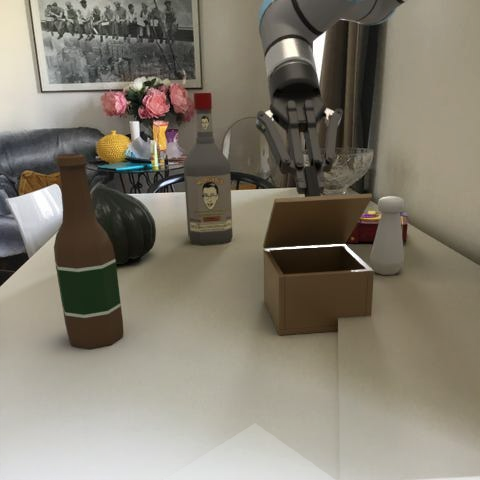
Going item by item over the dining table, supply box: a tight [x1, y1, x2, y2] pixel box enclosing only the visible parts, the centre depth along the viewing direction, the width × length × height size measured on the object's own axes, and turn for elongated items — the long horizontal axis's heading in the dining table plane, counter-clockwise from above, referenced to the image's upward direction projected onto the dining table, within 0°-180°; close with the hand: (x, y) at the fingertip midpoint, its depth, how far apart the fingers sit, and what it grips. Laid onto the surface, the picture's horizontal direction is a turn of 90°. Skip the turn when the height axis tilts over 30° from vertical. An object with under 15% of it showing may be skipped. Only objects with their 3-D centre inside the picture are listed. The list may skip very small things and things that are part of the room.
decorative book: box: [347, 210, 409, 244], centre depth 121 cm, size 11×16×5 cm
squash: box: [90, 186, 157, 265], centre depth 110 cm, size 14×15×15 cm
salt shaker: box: [369, 195, 405, 276], centre depth 97 cm, size 6×6×13 cm
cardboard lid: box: [262, 193, 373, 249], centre depth 79 cm, size 14×13×1 cm
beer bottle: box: [53, 153, 125, 350], centre depth 72 cm, size 8×8×24 cm
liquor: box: [183, 92, 234, 246], centre depth 119 cm, size 9×9×30 cm
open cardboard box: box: [262, 243, 375, 336], centre depth 81 cm, size 14×13×8 cm
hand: (315, 211), depth 77 cm, fingers closed
